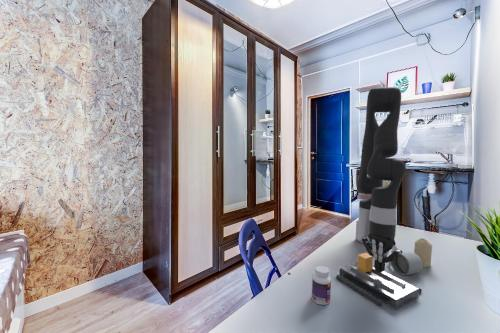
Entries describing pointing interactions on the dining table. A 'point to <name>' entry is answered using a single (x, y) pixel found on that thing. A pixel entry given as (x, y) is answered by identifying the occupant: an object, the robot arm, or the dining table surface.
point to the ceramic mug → (407, 263)
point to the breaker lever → (365, 262)
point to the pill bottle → (321, 285)
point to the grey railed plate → (364, 291)
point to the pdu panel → (381, 285)
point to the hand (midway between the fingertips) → (379, 271)
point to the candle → (423, 251)
